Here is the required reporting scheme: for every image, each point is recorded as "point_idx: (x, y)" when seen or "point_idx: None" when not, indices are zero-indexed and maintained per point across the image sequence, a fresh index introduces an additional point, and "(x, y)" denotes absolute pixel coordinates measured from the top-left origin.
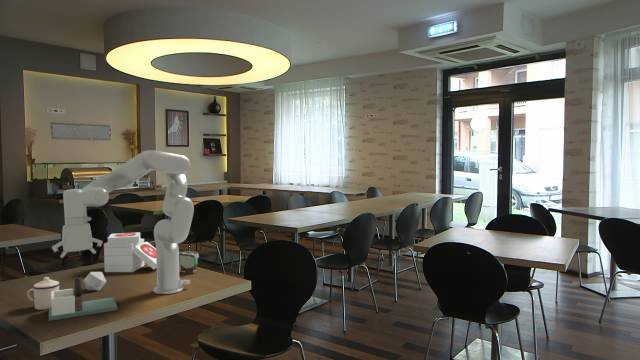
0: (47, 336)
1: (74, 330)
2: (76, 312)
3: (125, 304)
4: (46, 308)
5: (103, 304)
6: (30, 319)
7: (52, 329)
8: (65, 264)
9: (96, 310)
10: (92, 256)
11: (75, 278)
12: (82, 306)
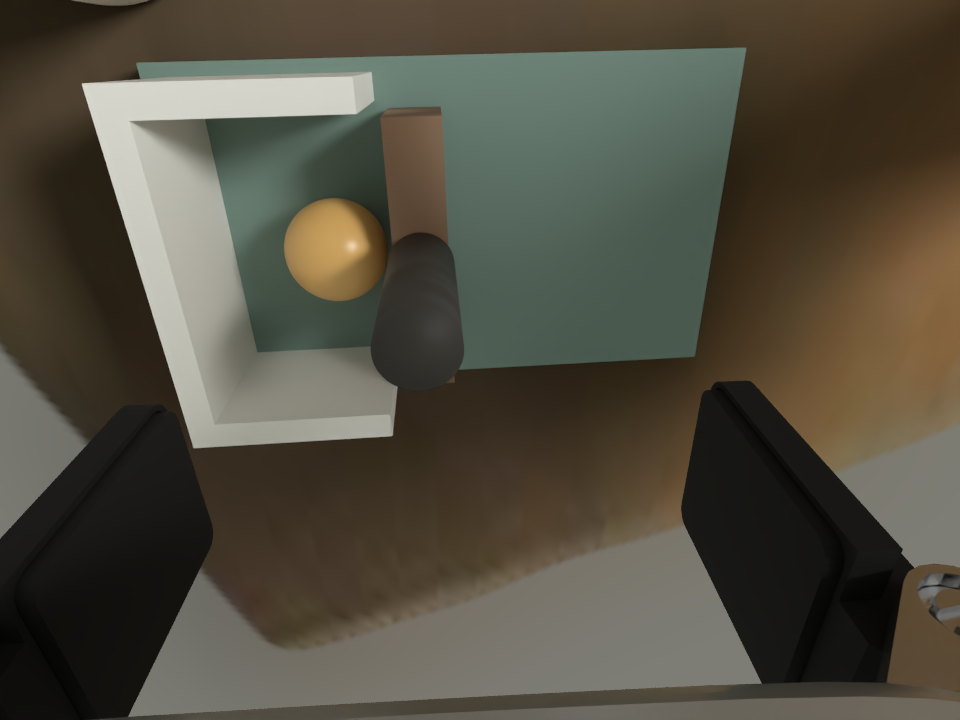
0: (283, 603)
1: (409, 577)
2: None
3: (777, 224)
4: (112, 5)
5: (616, 258)
6: (71, 268)
7: (289, 524)
8: (180, 591)
9: (547, 361)
10: (761, 661)
11: (387, 354)
12: (453, 230)
